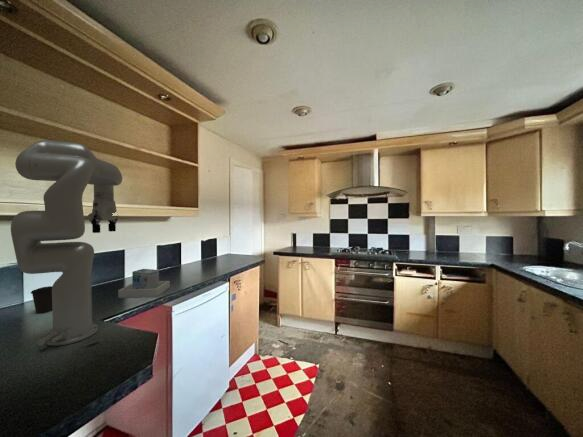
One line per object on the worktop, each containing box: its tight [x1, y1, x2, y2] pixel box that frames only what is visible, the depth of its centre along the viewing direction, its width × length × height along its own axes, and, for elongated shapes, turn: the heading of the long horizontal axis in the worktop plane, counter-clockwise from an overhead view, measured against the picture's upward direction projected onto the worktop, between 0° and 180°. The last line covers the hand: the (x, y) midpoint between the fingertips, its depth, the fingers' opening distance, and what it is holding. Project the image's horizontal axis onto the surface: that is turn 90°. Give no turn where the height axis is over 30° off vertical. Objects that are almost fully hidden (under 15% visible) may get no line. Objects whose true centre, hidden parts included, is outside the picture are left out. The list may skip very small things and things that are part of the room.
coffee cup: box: [30, 285, 53, 315], centre depth 97 cm, size 8×8×10 cm
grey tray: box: [117, 280, 171, 299], centre depth 118 cm, size 14×18×4 cm
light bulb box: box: [131, 268, 160, 289], centre depth 118 cm, size 11×7×11 cm, turn 75°
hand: (104, 232), depth 111 cm, fingers open, 9 cm apart
